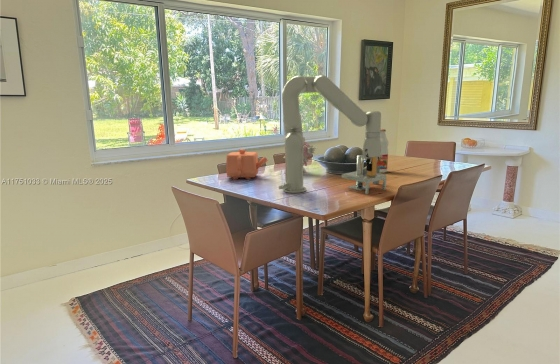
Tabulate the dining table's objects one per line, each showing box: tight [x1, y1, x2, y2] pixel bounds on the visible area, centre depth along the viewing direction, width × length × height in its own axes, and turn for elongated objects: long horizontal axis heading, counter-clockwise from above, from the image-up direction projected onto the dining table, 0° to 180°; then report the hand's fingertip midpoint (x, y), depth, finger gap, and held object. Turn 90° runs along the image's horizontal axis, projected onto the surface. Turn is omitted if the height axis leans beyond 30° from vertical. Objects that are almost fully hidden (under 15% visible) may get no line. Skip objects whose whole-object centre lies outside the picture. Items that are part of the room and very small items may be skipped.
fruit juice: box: [377, 128, 389, 174], centre depth 246 cm, size 9×9×28 cm
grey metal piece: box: [341, 154, 387, 195], centre depth 202 cm, size 16×18×18 cm
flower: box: [282, 136, 316, 173], centre depth 246 cm, size 20×22×24 cm
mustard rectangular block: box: [367, 157, 377, 176], centre depth 197 cm, size 4×4×12 cm
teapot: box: [225, 148, 269, 180], centre depth 235 cm, size 25×23×18 cm
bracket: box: [363, 166, 380, 185], centre depth 210 cm, size 14×2×10 cm, turn 129°
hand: (371, 169), depth 198 cm, fingers closed on mustard rectangular block, 3 cm apart
